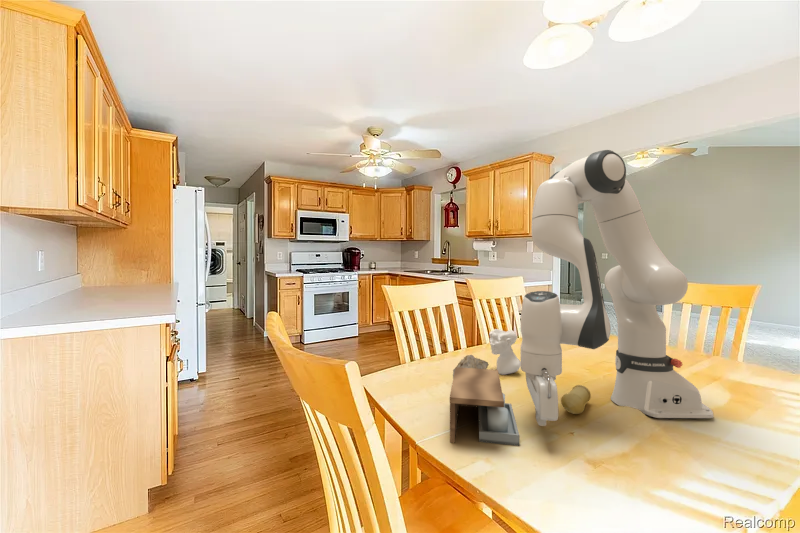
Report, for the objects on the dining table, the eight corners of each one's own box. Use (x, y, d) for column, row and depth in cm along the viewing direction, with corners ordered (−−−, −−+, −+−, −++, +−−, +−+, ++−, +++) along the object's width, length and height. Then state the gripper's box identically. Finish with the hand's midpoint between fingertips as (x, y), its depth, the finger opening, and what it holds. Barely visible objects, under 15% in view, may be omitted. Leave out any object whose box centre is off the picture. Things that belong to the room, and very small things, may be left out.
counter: (497, 407, 95) (497, 369, 95) (503, 450, 74) (503, 401, 74) (455, 404, 98) (455, 367, 97) (449, 444, 76) (449, 397, 76)
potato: (570, 400, 101) (571, 382, 101) (591, 404, 98) (592, 386, 98) (557, 417, 90) (557, 397, 90) (580, 423, 86) (580, 402, 86)
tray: (511, 412, 92) (511, 403, 92) (519, 445, 75) (519, 435, 75) (478, 409, 94) (478, 401, 94) (479, 441, 77) (479, 431, 77)
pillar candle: (506, 428, 82) (506, 406, 82) (508, 437, 78) (508, 414, 78) (487, 426, 83) (487, 404, 83) (487, 435, 79) (487, 412, 79)
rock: (462, 385, 104) (468, 351, 108) (448, 384, 110) (454, 351, 113) (493, 395, 109) (498, 361, 113) (479, 393, 115) (483, 361, 118)
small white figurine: (526, 376, 121) (526, 331, 121) (500, 381, 116) (500, 334, 116) (505, 368, 130) (506, 327, 130) (480, 372, 125) (481, 329, 125)
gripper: (566, 378, 72) (566, 447, 72) (547, 352, 92) (547, 406, 92) (533, 376, 73) (533, 444, 73) (521, 351, 93) (521, 404, 93)
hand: (541, 423), depth 83 cm, fingers closed
